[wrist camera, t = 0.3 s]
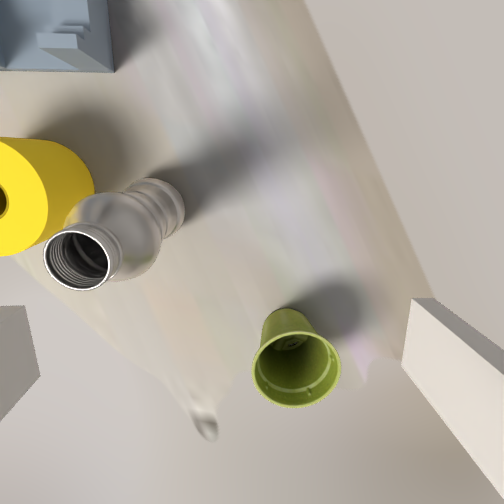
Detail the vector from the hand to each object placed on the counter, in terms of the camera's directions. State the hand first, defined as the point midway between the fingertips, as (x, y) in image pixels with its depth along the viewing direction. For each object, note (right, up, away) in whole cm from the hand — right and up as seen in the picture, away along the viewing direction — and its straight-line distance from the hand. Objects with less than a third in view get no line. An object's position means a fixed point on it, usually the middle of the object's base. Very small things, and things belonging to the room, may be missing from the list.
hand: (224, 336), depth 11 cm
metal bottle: (-10, +8, +26) cm, 29 cm away
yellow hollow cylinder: (-22, +10, +25) cm, 35 cm away
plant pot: (+5, -7, +31) cm, 33 cm away
